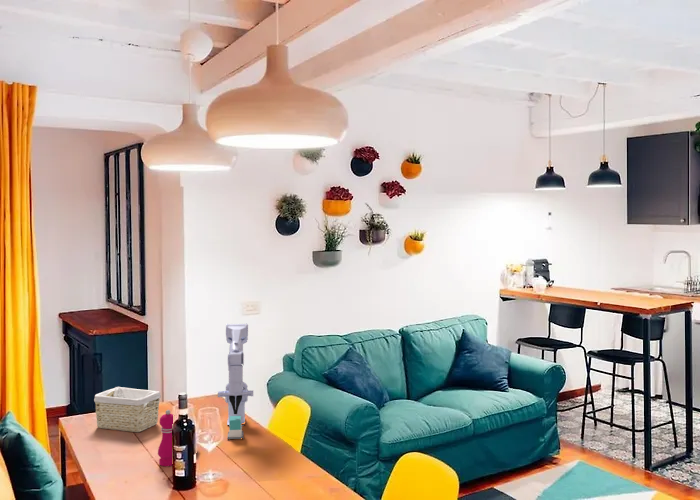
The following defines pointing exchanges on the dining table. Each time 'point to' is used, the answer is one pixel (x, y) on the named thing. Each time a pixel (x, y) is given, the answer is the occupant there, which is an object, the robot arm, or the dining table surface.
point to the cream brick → (235, 433)
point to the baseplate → (234, 437)
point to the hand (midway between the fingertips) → (235, 413)
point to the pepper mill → (166, 440)
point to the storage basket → (127, 409)
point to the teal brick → (235, 423)
